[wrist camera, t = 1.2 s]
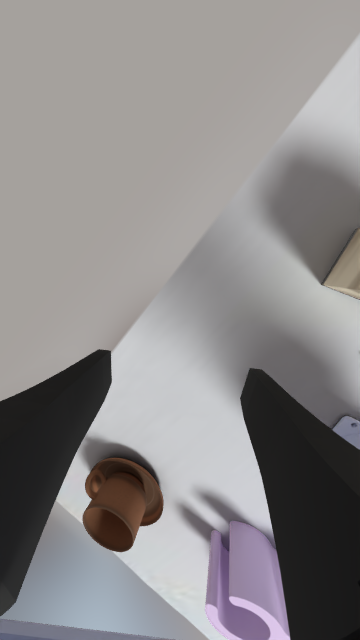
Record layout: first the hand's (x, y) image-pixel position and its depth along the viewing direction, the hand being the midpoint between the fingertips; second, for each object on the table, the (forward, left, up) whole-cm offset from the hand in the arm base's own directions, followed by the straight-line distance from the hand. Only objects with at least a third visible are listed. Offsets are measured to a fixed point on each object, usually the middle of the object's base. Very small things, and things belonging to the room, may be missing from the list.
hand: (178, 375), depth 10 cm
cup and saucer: (0, +29, -12) cm, 31 cm away
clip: (-24, +30, -12) cm, 40 cm away
